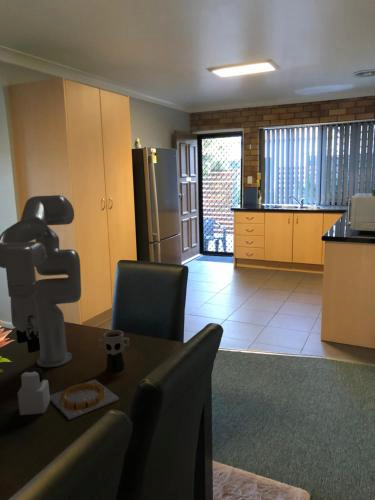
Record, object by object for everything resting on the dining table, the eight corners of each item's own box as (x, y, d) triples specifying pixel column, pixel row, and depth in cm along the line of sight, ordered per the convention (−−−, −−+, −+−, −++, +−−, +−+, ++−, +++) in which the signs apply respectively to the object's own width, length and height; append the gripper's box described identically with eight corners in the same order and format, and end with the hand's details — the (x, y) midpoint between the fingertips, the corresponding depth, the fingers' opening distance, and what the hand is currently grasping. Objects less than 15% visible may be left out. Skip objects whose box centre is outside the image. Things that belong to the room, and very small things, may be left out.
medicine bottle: (26, 402, 127) (22, 366, 125) (50, 400, 127) (46, 364, 125) (19, 415, 120) (15, 377, 118) (44, 413, 120) (40, 375, 118)
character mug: (98, 373, 144) (96, 338, 142) (101, 364, 151) (99, 331, 149) (130, 371, 145) (128, 336, 143) (131, 363, 152) (129, 329, 150)
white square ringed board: (48, 398, 129) (47, 392, 129) (95, 381, 139) (94, 375, 138) (68, 420, 117) (68, 413, 116) (118, 399, 126) (118, 393, 126)
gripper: (0, 286, 122) (6, 342, 124) (18, 297, 108) (24, 359, 111) (26, 282, 126) (31, 335, 129) (46, 292, 113) (52, 351, 116)
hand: (28, 346), depth 120 cm, fingers open, 9 cm apart
